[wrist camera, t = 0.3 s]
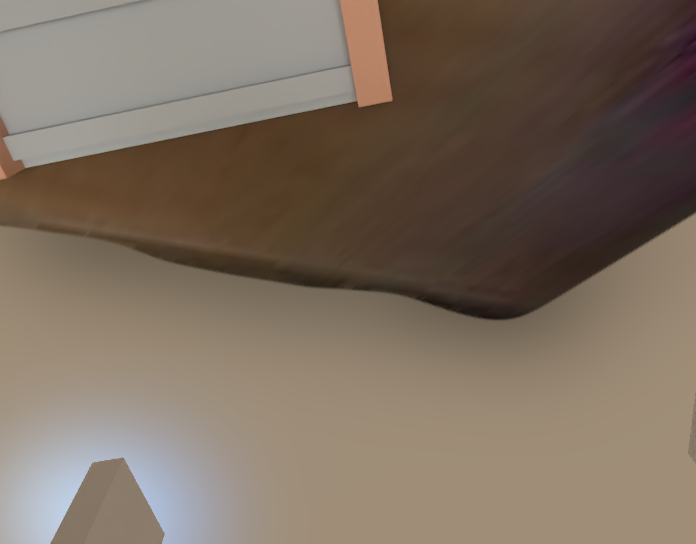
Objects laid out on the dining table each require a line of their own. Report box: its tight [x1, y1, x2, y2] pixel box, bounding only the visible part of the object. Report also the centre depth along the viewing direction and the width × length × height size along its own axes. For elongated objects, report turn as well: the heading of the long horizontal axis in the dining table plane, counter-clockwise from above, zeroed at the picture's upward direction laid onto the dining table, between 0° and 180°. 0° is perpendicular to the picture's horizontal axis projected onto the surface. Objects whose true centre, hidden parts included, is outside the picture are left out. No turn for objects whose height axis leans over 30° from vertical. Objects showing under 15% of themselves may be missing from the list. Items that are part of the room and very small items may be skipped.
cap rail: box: [0, 0, 393, 180], centre depth 32 cm, size 26×10×3 cm, turn 101°
